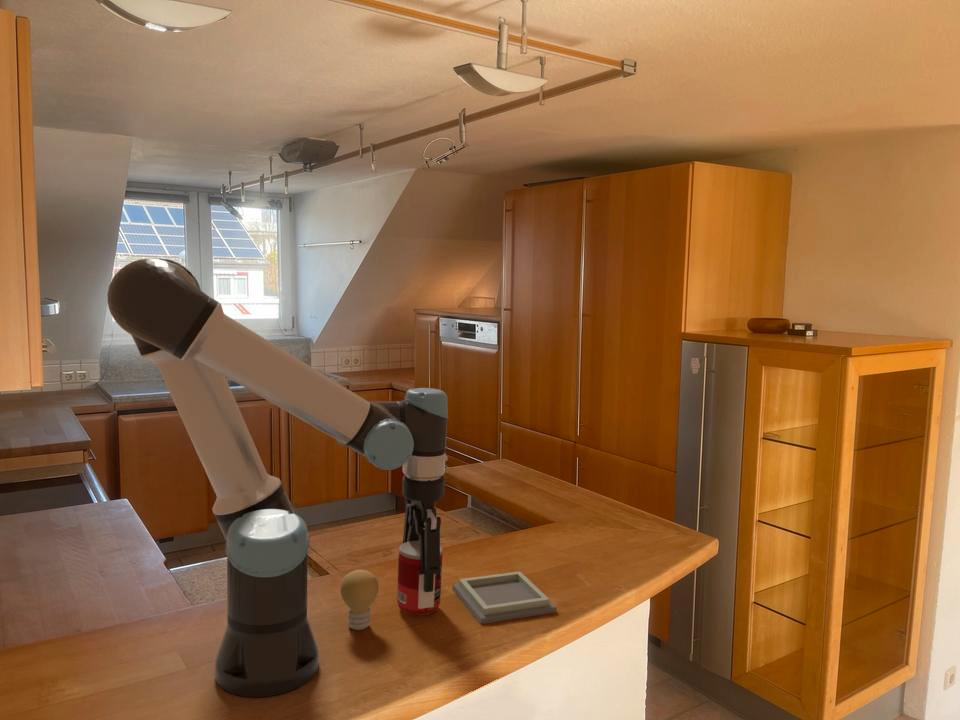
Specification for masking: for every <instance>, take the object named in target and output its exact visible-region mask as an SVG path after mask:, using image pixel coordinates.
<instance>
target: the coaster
mask: <svg viewBox="0 0 960 720" xmlns="http://www.w3.org/2000/svg"><path fill="white" fill-rule="evenodd" d="M458 581H459V582H456V583H452V590H453V591H454V593H455V594H456V595H457V597H459V599H460V600H461V601H462V603H463V604H464V606H466V607H467V609H468V611H469V612H471V614H472V615H473V616H474V618H475V619H476V620H477V621H478V623H479V624H480V625H485V624H490V623H496V622H503V621H508V620H516V619H521V618H527V617H535V616H542V615H547V613H548V614H553V613H554V612H555V613H557V606H556V605H555V604H554V603H553V602H552V601H551V599H550V598H549V597H548V596H547V595H545V593H544V592H542V590H541V589H539V588H538V587H537V586H536V584H534V583H533V582H532V581H531V580H530V579H529V578H528V577H527V576H525V575H524V573H523V572H521V571H514V572H513V571H512V572H506V573H497V574H496V573H495V574H491V575H481V576H476V577H475V576H474V577H466V578H460V579H459V580H458ZM555 613H554V614H555Z"/></svg>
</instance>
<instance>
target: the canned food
mask: <svg viewBox="0 0 960 720" xmlns="http://www.w3.org/2000/svg"><path fill="white" fill-rule="evenodd" d="M398 549H399V550H398V560H397V563H398V564H397V565H398V566H397V593H396V594H397V595H396V597H397V598H396V602H397V606H398V609H400V610H401V611H403V612H405V613H407V614H410V615H419V616H421V615H422V616H423V615H429V614H431V613H434V612H436V611H437V610H438V609H439V607H440V604H441V593H442V592H441V590H442V573H443V572H442V570H443V547H442V546H441V545H440V573H439V574H435V590H434V607H430V608H422V609H419V608H418V592H419V575H418V572H417V571H421V557H420V544H419V541H409V542H406V543H403V542H402V543H401V544H400V545H399V548H398Z"/></svg>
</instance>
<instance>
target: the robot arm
mask: <svg viewBox="0 0 960 720" xmlns="http://www.w3.org/2000/svg"><path fill="white" fill-rule="evenodd" d="M188 269H189V268H186V266H184V265H182V264H180V263H178V262H177V261H174V260H170V259H168V258H167V259H166V258H158V257H157V258H156V257H155V258H142V259H137V260H134V261H131V262H130V263H128V264H125V265H124V266H123V267H121V268H120V269H119V270H118V271H117V272H116V273H115V274H114V275H113V277H112V279H111V281H110V284H109V286H108V290H107V294H106V295H107V306H108V309H109V312H110V314H111V317H112V318H113V320H114V322H115V323H116V324H117V325H118V326H119V327H120V328H121V329H122V330H124V331H125V332H126V333H127V334H129V335H130V336H131V337H132V339H133V342H134V344H135V345H136V348H137V349H138V352H139V355H140V357H141V358H142V359H145V360H149V361H151V362H153V363H155V364H156V366H157V369H158V370H159V372H160V374H161V377H162V379H163V382H164V384H165V386H166V388H167V390H168V393H169V395H170V396H171V400H172V401H173V403H174V405H175V408H176V409H177V412H178V414H179V416H180V419H181V421H182V423H183V425H184V427H185V429H186V432H187V434H188V436H189V438H190V440H191V443H192V445H193V447H194V449H195V453H196V454H197V456H198V458H199V461H200V462H201V464H202V467H203V468H204V471H205V473H206V475H207V478H208V480H209V482H210V484H211V487H212V489H213V491H214V493H215V495H216V500H215V502H214V504H213V506H212V514H213V515H214V517H215V520H216V522H217V524H218V526H219V528H220V531H221V532H222V534H223V537H224V539H225V554H226V579H227V580H226V584H227V585H226V586H227V587H226V594H227V595H226V599H227V601H226V602H227V603H226V604H227V606H226V609H227V614H226V616H227V624H226V629H225V631H224V634H223V637H222V640H221V642H220V646H219V648H218V652H217V655H216V657H215V661H214V662H215V663H214V664H215V666H214V673H215V675H214V676H215V681H216V683H217V684H218V686H219V687H220V688H221V689H222V690H224V691H226V692H228V693H229V694H233V695H236V696H241V697H248V698H249V697H251V698H264V697H270V696H271V697H272V696H276V695H280V694H285V693H288V692H291V691H293V690H296V689H297V688H300V687H301V686H303V685H304V684H306V683H308V681H310V680H311V679H312V678H313V677H314V675H315V674H316V672H317V671H318V668H319V648H318V645H317V641H316V639H315V637H314V633H313V630H312V628H311V625H310V621H309V619H308V558H309V557H308V553H309V552H308V551H309V547H310V537H309V532H308V526H307V524H306V522H305V521H304V519H303V518H302V517H301V516H300V515H298V511H297V509H296V508H295V506H294V505H293V504H292V503H291V501H290V500H289V497H288V495H287V492H286V489H285V488H284V485H283V484H282V481H281V479H280V478H279V477H276V476H273V475H270V474H269V473H268V472H267V470H266V467H265V466H264V464H263V461H262V459H261V456H260V454H259V451H258V449H257V447H256V445H255V442H254V440H253V438H252V436H251V433H250V431H249V429H248V427H247V424H246V422H245V419H244V416H243V415H242V412H241V410H240V407H239V405H238V403H237V401H236V399H235V396H234V394H233V392H232V389H231V388H230V384H229V383H228V380H227V378H228V379H229V380H230V381H233V382H234V383H236V384H237V385H240V386H242V387H243V388H245V389H247V390H249V392H250V391H251V393H253V394H255V395H257V396H258V397H261V398H262V399H264V400H266V401H268V402H270V403H272V404H273V405H274V406H277V407H278V408H280V409H282V410H284V411H285V412H287V413H289V414H290V415H293V416H294V417H296V418H298V419H299V420H302V421H303V422H304V423H306V424H308V425H310V426H311V427H314V428H315V429H317V430H319V431H320V432H321V433H324V434H326V435H327V436H329V437H331V438H333V439H335V440H336V441H337V442H338V443H337V444H339V445H341V446H346V447H348V448H349V449H351V450H353V451H354V452H356V453H358V454H360V455H361V456H363V457H364V458H365V459H366V460H367V461H368V462H369V463H370V464H371V465H374V466H375V467H376V468H378V469H380V470H385V471H393V470H396V469H399V468H400V467H402V473H403V474H404V475H403V477H402V490H401V493H402V497H404V498H405V499H404V500H405V513H404V524H403V534H402V544H403V543H406V542H409V541H419V544H420V557H421V571H417V572H418V575H419V592H418V608H419V609H422V608H430V607H434V590H435V574H439V573H440V546H441V526H442V525H441V524H442V519H441V517H440V516H437V509H436V507H435V503H436V501H439V500H442V498H443V497H444V496H445V484H446V483H445V482H446V481H445V479H446V478H445V477H444V475H445V473H446V462H447V461H448V459H449V457H448V456H447V454H446V452H447V451H446V449H447V447H446V446H447V434H448V419H449V407H448V406H449V405H448V394H446V392H445V391H443V390H441V389H437V388H431V387H417V388H409V389H408V390H407V391H406V392H405V397H404V399H403V400H396V401H394V400H391V401H390V400H389V401H388V400H387V401H386V400H384V401H383V400H381V401H380V400H377V401H376V400H375V401H374V400H373V401H372V400H366V399H365V398H364V397H361V396H360V395H358V394H356V393H355V392H353V391H351V390H350V389H348V388H347V387H345V386H343V385H341V384H340V383H338V382H337V381H335V379H332V378H330V377H329V376H327V375H325V374H324V373H322V372H320V371H319V370H317V369H316V368H314V367H312V366H311V365H309V364H307V363H305V362H304V361H302V360H301V359H299V358H298V357H296V356H294V355H293V354H291V353H289V352H287V351H286V350H284V349H282V347H281V348H280V347H279V346H277V345H276V344H274V343H273V342H271V341H270V340H267V339H266V338H264V337H263V336H261V335H260V334H258V333H256V332H255V331H253V330H252V329H249V328H248V327H247V326H245V325H243V324H241V323H240V322H238V321H236V320H235V319H233V318H232V317H230V316H228V315H227V314H225V313H224V310H223V306H222V303H220V302H219V301H218V300H217V299H214V298H213V297H211V296H209V295H207V294H206V293H205V292H204V291H202V289H201V286H200V284H199V282H198V280H197V278H196V276H195V275H193V273H192V271H190V270H188Z"/></svg>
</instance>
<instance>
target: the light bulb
mask: <svg viewBox="0 0 960 720" xmlns="http://www.w3.org/2000/svg"><path fill="white" fill-rule="evenodd" d="M378 593H379V582H378V579H377V577H376V576H375V575H374V574H373V573H372V572H370V571H368V570H365V569H356V570H352V571H350V572H348V574H347V573H346V575H345V576H344V577H343V579H342V581H341V584H340V595H341V598H342V601H343V602H344V604H345V605H346V606H347V607H348V609H347V614H348V615H347V625H348V627H350V629H352V630H354V631H361V630H362V631H363V630H366V628H367V627H369V626H370V623H371V620H370V618H371V614H370V613H371V608H370V606H372V604H373V603H374V602H375V600H376V598H377V597H378Z"/></svg>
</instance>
